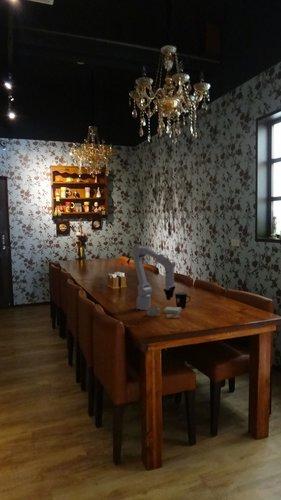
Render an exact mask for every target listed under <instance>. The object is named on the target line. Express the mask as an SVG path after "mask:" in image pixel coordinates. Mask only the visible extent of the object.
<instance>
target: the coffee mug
mask: <svg viewBox="0 0 281 500" xmlns="http://www.w3.org/2000/svg"><path fill="white" fill-rule="evenodd" d="M174 296H175V297H174V298H175V303H176V306H175V307H181V309H185V308H186V306H187V304H188V303H189V302H190V301H191V300H192V299H191V296H189V295H188V292H185V291H176V292H174ZM188 298H189V300H188V301H187V299H188Z"/></svg>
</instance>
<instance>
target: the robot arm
mask: <svg viewBox="0 0 281 500" xmlns="http://www.w3.org/2000/svg"><path fill="white" fill-rule="evenodd" d="M132 253H133V254H132V255H133V258H132V259H133V264H134V267H135V270H136V275H137V279H138V283H139V284H138V285H137V294H138V296H137V297H136V310H137V309H140V310H139V311H147V308H148V307H152V306H151V303H152V302H151V296H152V294H153V288H152V285H151V283H150V282H148V280H147V275H146V272H145V269H144V265H143V264H144V263H143V258H144V257H146V256H147V255H148V256H149V257H151V258H153V259H155V261H156V263H158V264H160V265H162V266H163V268H164V272H165V273H164V275H165V276H164V277H165V278H164V280H165V281H164V286H165V288H164V289H163V291H164V294H165V299H166V301H171V299H172V298H173V297H174V294H175V289H176V287H177V285H176V284H175V267H176V265H177V264H176V261H175V260H174V259H170V258H169V257H166V256H165V254H163V253H161V254H160V253H159V254H158V253H156V252H155V251H154V250H152V249H151V248H150V247H149V246H147V245H141V246H140V245H137V246H135V247H134V248H133V249H132Z"/></svg>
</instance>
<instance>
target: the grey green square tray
mask: <svg viewBox="0 0 281 500" xmlns="http://www.w3.org/2000/svg"><path fill="white" fill-rule="evenodd" d="M181 311H182V308H181V307H177V306H166V307H165V308H164V309H163V314H179V315H180V313H181Z"/></svg>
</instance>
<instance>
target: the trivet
mask: <svg viewBox="0 0 281 500" xmlns="http://www.w3.org/2000/svg"><path fill="white" fill-rule="evenodd" d="M165 314H166V319H169V320H171V319H179V320H180V319H181V317H180V313H179V314H172V313H165Z"/></svg>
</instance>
